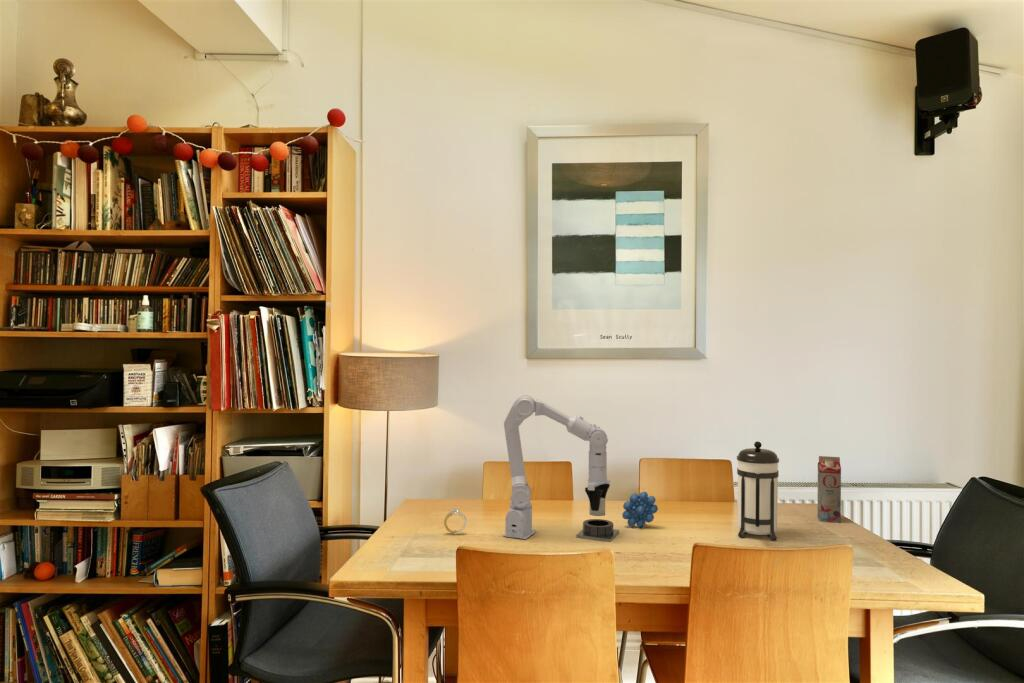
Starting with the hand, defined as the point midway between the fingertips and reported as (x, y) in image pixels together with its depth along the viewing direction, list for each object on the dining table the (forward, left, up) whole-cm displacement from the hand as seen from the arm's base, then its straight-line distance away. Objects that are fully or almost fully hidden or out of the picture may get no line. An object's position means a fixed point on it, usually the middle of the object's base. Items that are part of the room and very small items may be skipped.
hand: (597, 508), depth 217 cm
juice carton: (+51, -68, -9) cm, 86 cm away
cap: (0, 0, -2) cm, 2 cm away
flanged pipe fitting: (0, 0, -9) cm, 9 cm away
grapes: (+15, -10, -9) cm, 20 cm away
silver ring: (-18, +42, -9) cm, 46 cm away
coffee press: (+20, -47, -9) cm, 52 cm away
